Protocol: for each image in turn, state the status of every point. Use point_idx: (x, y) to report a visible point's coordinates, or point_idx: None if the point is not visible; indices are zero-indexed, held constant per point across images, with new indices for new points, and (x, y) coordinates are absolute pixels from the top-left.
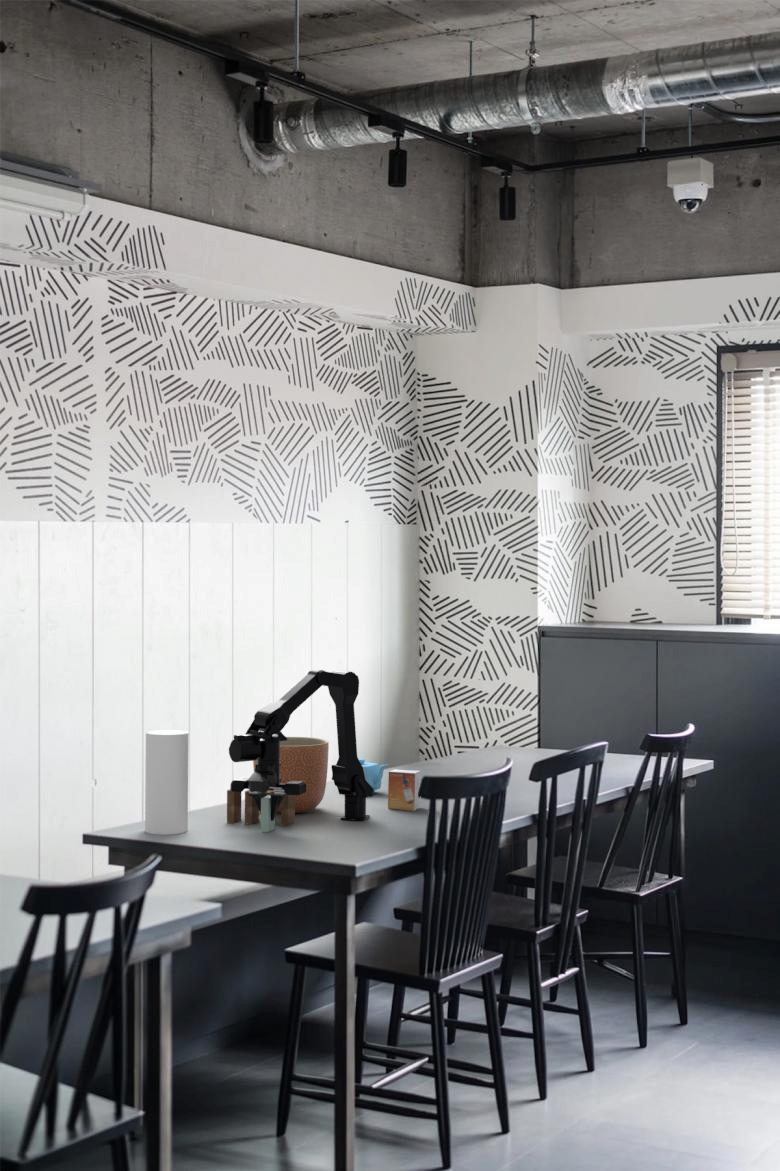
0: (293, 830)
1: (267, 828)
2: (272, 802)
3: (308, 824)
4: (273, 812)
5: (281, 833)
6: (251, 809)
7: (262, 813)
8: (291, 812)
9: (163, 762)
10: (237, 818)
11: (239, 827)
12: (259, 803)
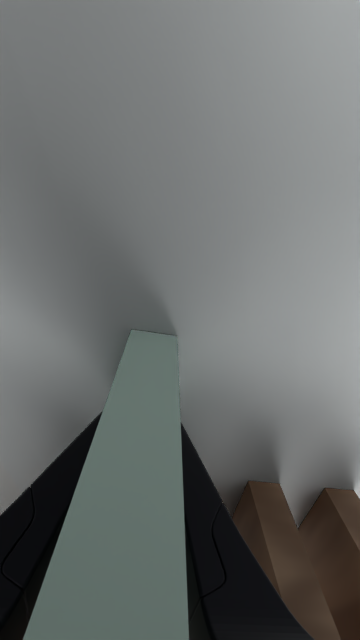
0: (14, 396)
1: (131, 339)
2: (12, 576)
3: None
4: (67, 453)
5: (41, 310)
6: (274, 564)
7: (163, 417)
8: None
9: None
10: (316, 525)
11: (300, 419)
12: (214, 555)
